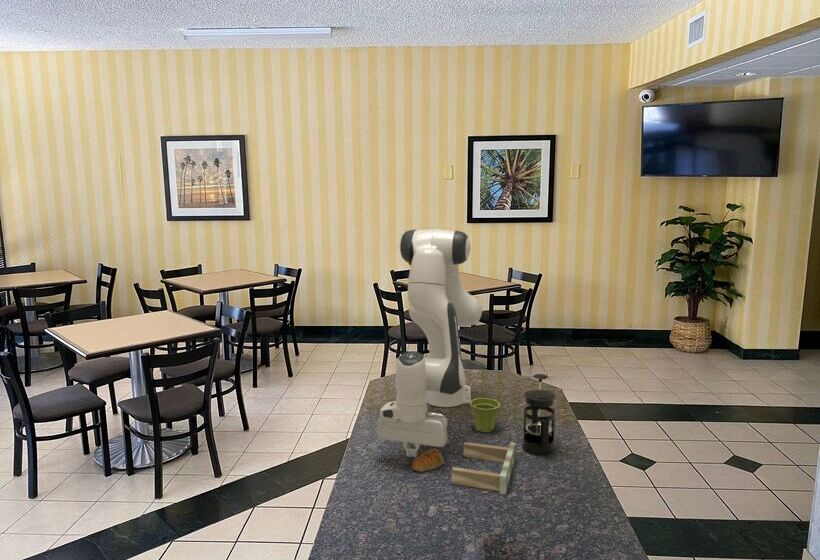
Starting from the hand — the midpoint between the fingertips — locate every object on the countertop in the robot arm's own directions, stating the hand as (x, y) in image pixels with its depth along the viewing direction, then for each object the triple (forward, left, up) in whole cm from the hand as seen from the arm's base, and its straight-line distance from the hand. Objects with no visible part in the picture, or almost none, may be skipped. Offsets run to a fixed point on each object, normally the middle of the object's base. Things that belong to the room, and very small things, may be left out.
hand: (412, 456), depth 170 cm
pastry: (+1, +5, -2) cm, 5 cm away
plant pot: (-28, +16, -2) cm, 32 cm away
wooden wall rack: (0, +20, -2) cm, 20 cm away
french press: (-18, +34, -2) cm, 39 cm away
